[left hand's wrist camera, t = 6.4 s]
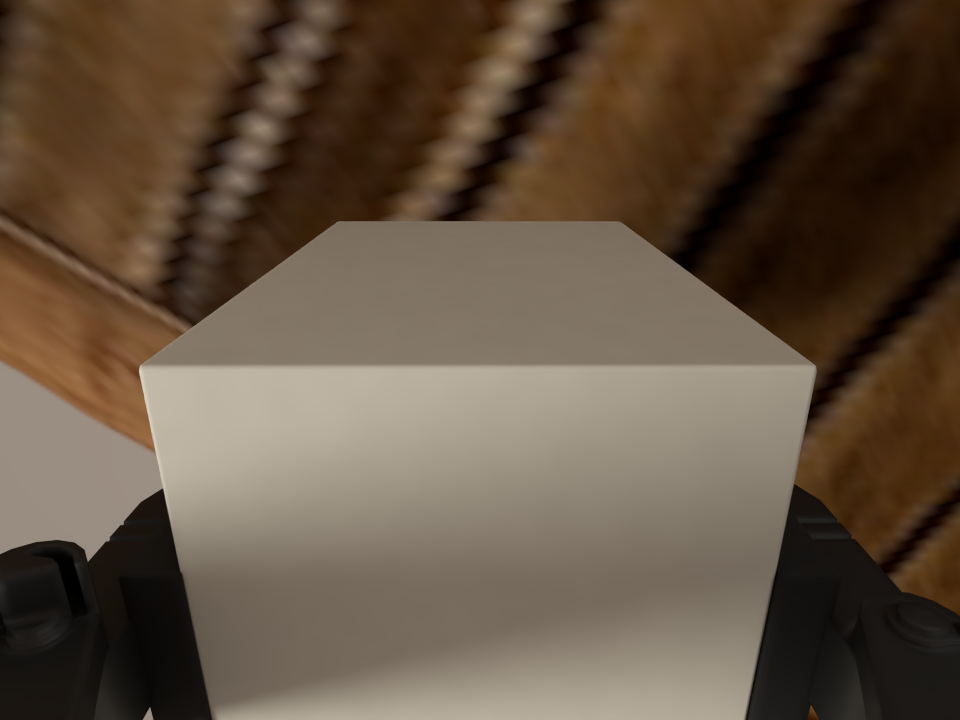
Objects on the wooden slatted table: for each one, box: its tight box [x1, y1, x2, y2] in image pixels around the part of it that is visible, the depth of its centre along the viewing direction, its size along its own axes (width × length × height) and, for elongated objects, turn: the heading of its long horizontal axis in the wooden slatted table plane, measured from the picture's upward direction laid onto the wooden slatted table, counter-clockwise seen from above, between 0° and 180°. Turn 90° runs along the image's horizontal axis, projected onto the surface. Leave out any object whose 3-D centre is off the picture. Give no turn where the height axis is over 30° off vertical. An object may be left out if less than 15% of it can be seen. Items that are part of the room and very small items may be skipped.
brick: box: [139, 221, 817, 720], centre depth 13 cm, size 8×7×10 cm
